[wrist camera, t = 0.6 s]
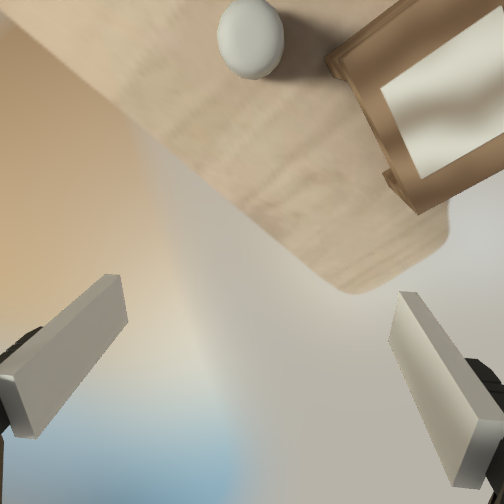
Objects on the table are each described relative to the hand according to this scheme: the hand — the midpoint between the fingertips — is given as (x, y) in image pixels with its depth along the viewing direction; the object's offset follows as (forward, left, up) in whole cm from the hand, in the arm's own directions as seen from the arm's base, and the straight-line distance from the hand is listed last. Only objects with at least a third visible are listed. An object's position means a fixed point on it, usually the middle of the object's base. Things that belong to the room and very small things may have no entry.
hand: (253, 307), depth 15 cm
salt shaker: (-9, +6, -25) cm, 28 cm away
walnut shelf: (+4, +17, -25) cm, 31 cm away
